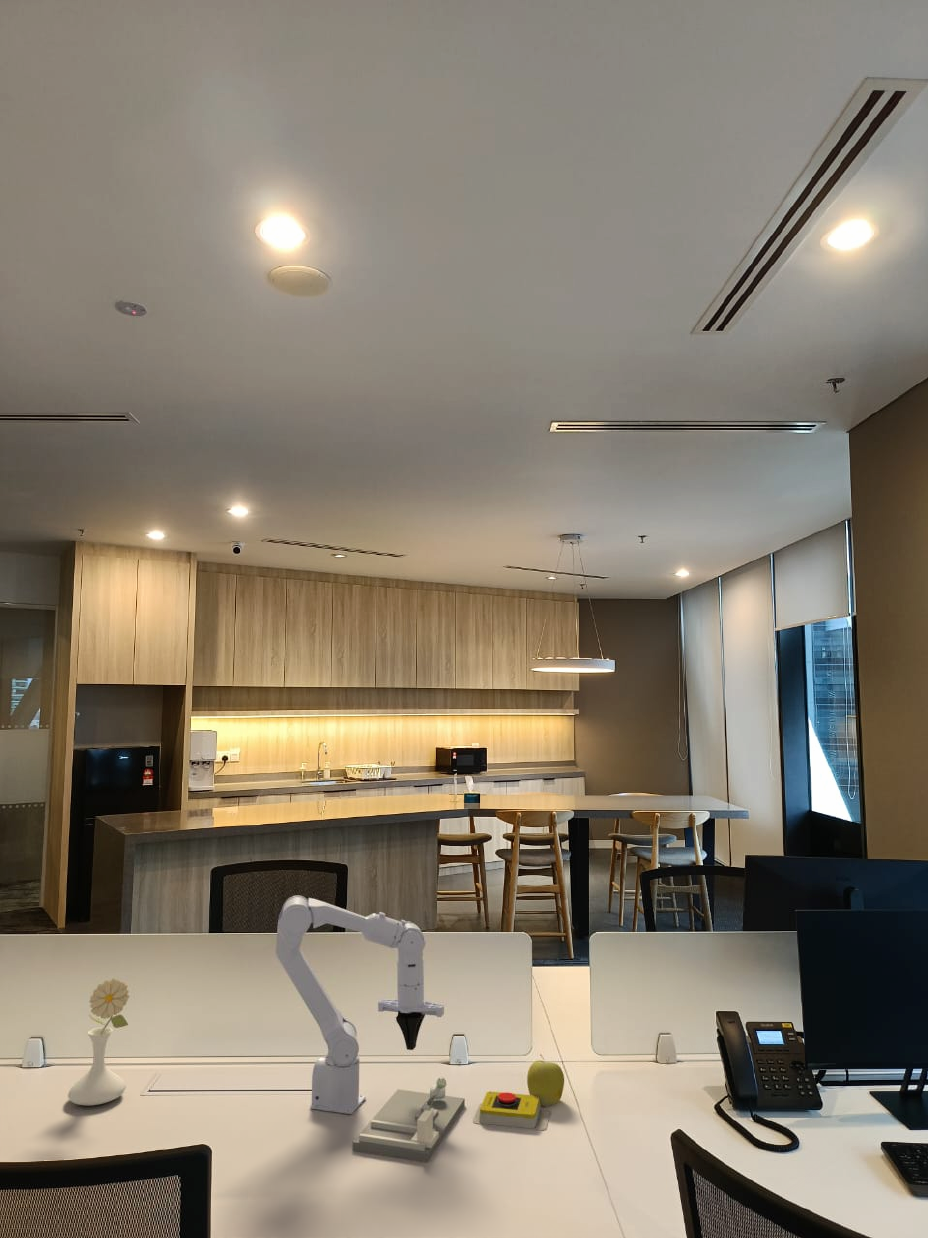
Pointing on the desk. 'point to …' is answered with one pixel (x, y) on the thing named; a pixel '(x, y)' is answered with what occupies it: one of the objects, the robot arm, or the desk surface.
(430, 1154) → the grey base plate
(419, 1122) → the paddle slider
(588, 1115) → the desk surface
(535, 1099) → the emergency button
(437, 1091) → the toggle lever
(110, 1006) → the flower in vase
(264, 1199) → the desk surface
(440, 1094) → the push button
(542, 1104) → the apple
